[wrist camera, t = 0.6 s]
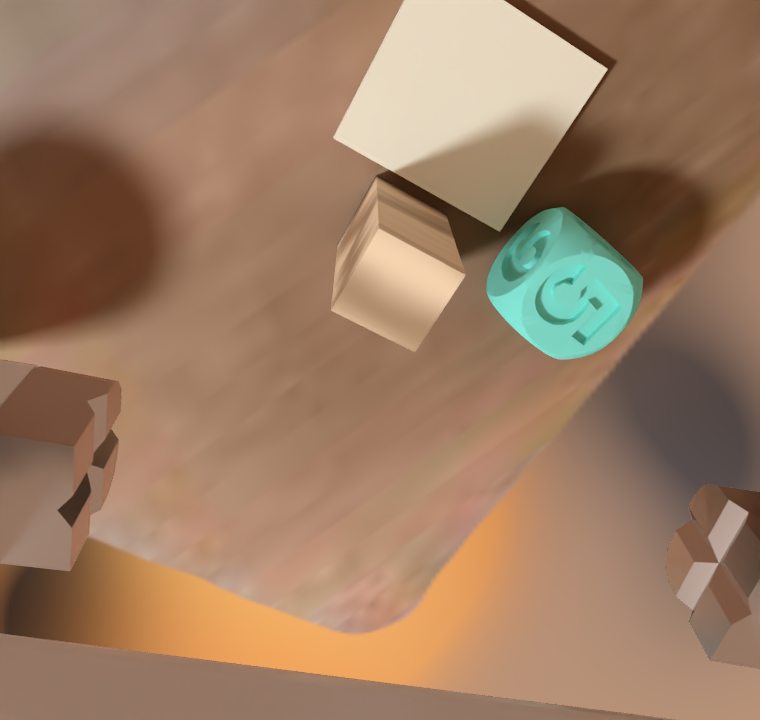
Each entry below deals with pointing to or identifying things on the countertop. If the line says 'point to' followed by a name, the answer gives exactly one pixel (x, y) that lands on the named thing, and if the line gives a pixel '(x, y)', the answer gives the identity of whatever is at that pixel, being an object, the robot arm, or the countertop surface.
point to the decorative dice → (563, 285)
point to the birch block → (396, 265)
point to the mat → (468, 102)
